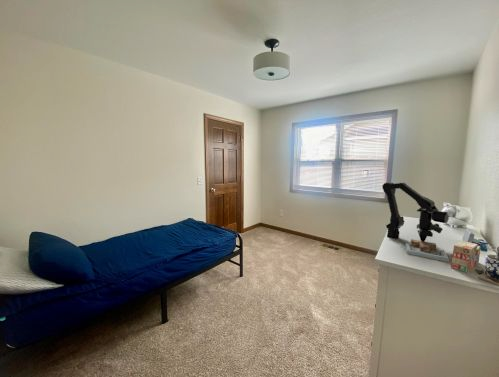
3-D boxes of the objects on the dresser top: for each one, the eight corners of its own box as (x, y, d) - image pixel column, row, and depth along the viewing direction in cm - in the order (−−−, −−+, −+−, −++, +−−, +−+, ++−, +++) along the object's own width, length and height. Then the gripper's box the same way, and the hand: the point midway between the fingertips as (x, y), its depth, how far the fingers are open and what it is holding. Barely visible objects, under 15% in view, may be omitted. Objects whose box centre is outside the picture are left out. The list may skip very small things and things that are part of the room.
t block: (412, 249, 129) (412, 244, 128) (410, 243, 139) (411, 239, 138) (438, 254, 122) (438, 249, 122) (434, 247, 132) (435, 243, 132)
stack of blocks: (462, 258, 118) (465, 237, 116) (478, 263, 113) (482, 240, 111) (450, 268, 106) (453, 244, 105) (467, 273, 101) (471, 249, 100)
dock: (406, 253, 123) (407, 250, 123) (405, 246, 134) (405, 243, 134) (448, 261, 113) (448, 258, 113) (443, 253, 124) (443, 250, 124)
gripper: (445, 225, 122) (442, 250, 124) (439, 218, 137) (436, 241, 139) (421, 221, 128) (418, 246, 130) (417, 215, 143) (415, 237, 145)
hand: (422, 242), depth 136 cm, fingers closed
